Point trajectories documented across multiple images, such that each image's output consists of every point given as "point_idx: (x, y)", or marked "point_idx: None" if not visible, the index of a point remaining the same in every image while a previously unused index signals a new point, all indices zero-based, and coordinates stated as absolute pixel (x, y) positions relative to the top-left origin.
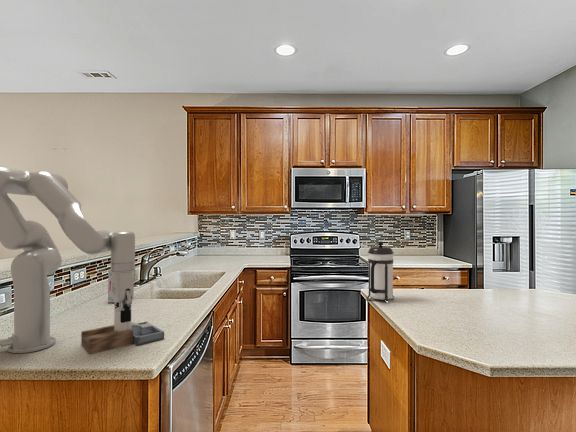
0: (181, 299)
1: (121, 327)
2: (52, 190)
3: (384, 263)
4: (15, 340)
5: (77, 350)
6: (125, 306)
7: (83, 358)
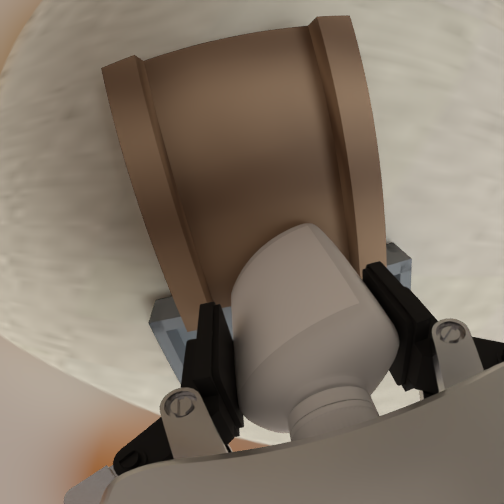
0: None
1: (248, 279)
2: None
3: None
4: None
5: (236, 17)
6: (124, 452)
7: (92, 60)
